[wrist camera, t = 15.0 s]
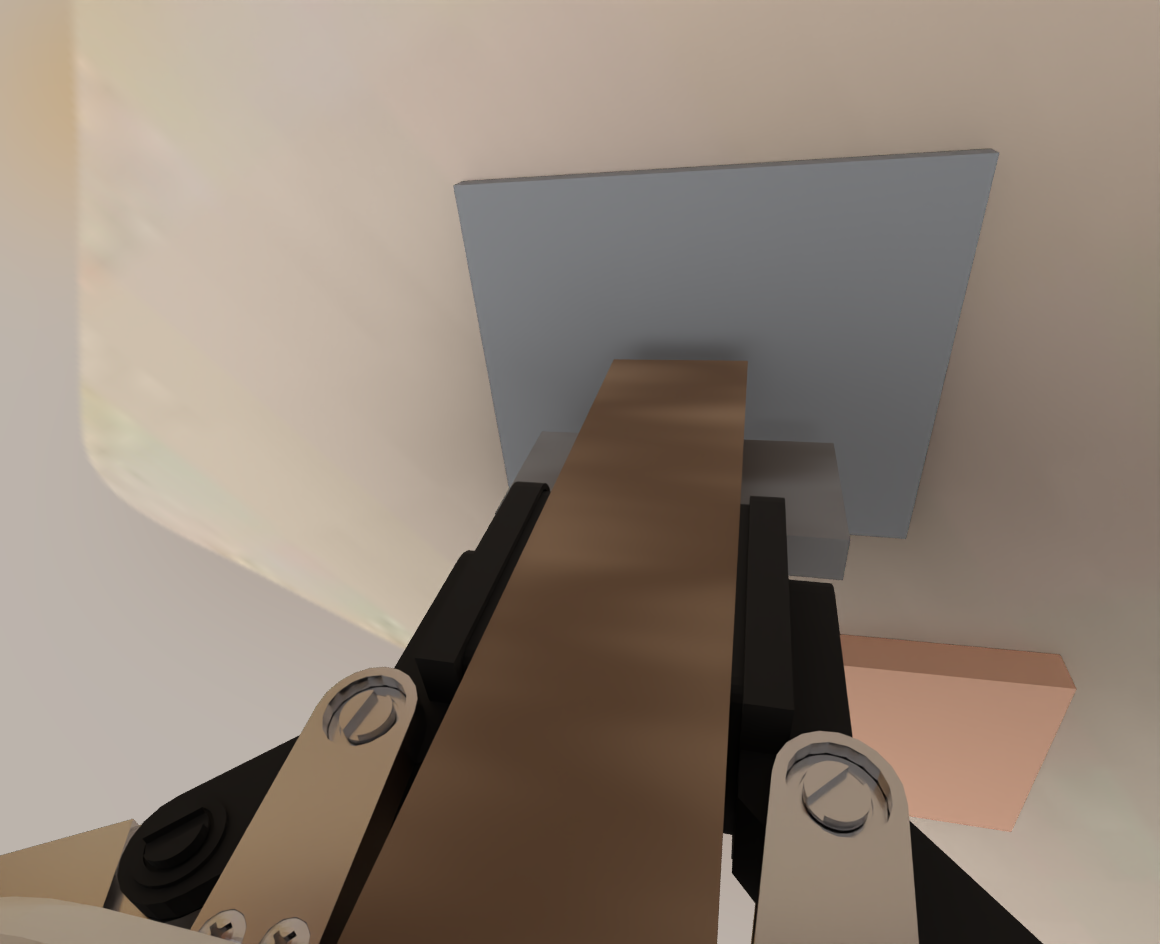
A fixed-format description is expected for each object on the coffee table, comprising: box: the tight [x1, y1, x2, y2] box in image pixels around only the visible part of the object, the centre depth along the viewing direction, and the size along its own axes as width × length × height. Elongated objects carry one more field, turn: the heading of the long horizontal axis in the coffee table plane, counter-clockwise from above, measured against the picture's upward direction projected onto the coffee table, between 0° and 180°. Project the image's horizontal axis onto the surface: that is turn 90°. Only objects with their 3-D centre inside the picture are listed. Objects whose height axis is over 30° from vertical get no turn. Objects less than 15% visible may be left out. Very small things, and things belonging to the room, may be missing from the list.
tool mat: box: [454, 149, 999, 539], centre depth 17 cm, size 12×10×1 cm
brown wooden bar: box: [337, 359, 850, 944], centre depth 9 cm, size 7×3×14 cm, turn 95°
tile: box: [840, 634, 1076, 832], centre depth 23 cm, size 7×2×8 cm
